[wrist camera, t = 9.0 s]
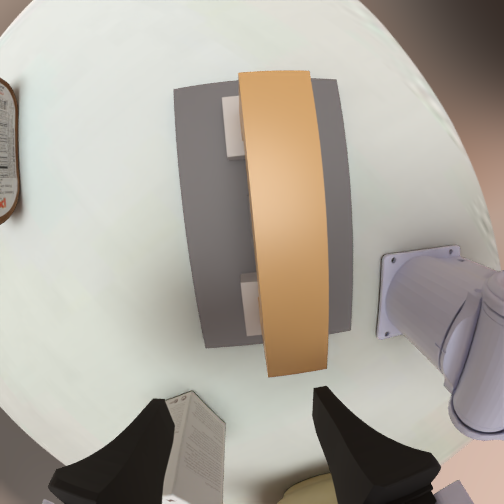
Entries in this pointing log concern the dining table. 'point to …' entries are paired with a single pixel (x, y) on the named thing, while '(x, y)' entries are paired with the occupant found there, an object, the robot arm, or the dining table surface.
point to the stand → (238, 210)
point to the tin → (8, 151)
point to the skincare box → (194, 454)
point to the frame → (287, 217)
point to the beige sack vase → (311, 491)
